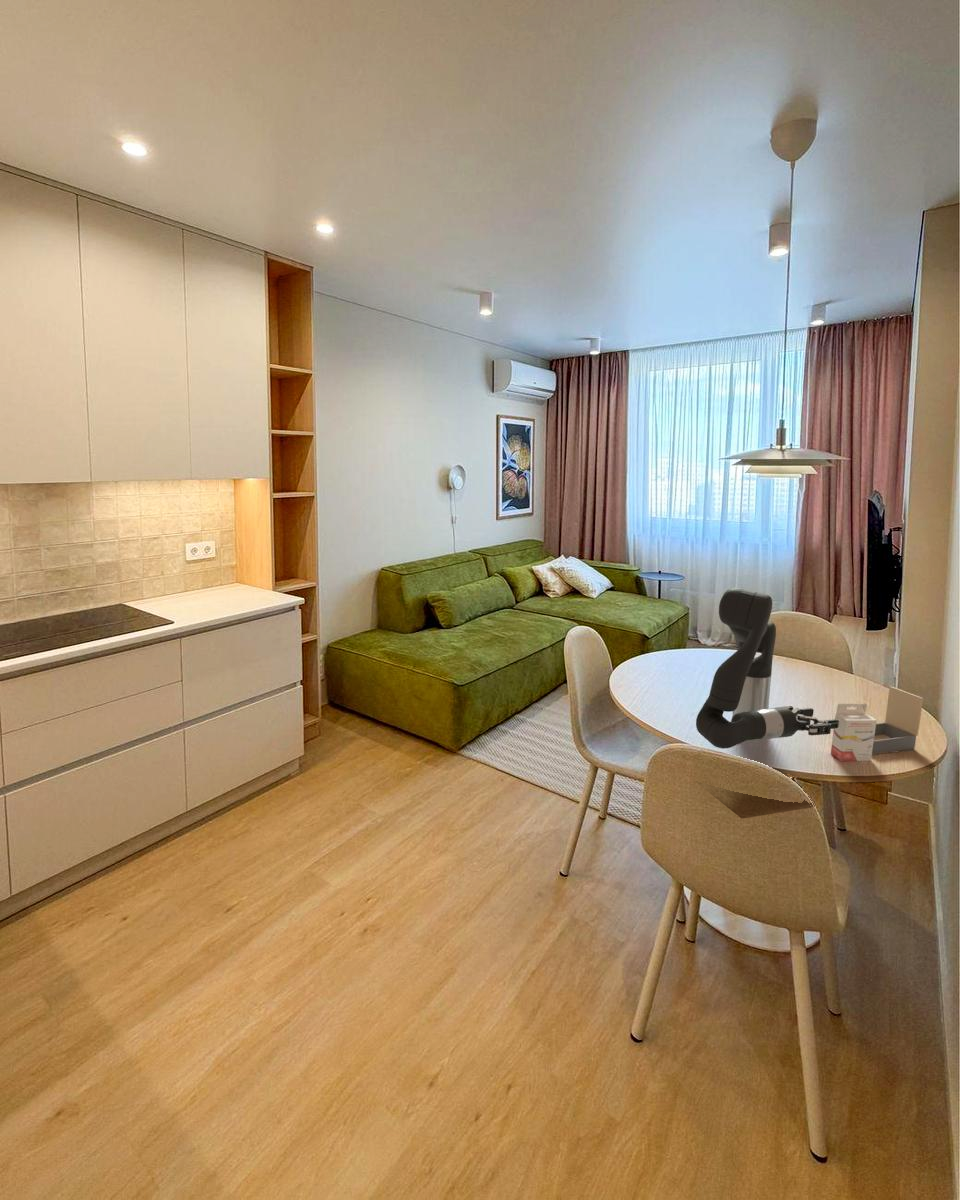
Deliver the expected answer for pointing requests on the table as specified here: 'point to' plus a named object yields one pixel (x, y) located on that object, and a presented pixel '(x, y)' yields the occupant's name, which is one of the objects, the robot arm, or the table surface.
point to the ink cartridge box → (853, 733)
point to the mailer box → (898, 723)
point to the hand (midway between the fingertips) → (824, 717)
